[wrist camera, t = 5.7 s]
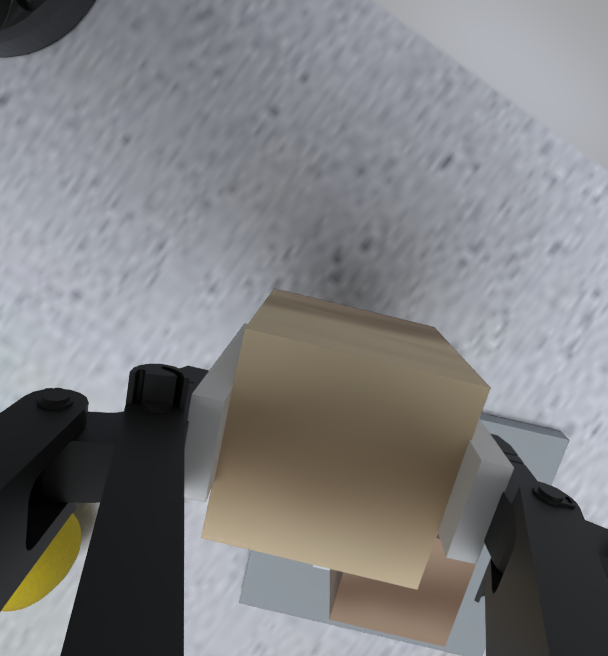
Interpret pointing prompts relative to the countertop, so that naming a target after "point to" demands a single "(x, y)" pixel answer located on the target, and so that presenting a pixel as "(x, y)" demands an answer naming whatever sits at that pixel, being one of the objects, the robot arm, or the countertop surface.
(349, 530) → the oak cube
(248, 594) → the grey square plate
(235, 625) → the countertop surface
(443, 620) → the walnut base
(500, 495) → the robot arm
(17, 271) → the countertop surface
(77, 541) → the lemon
